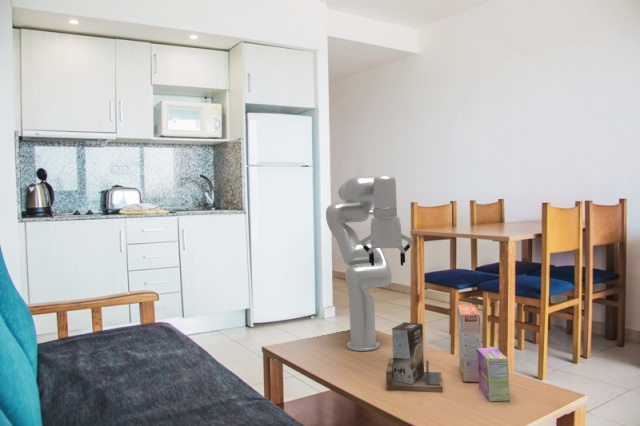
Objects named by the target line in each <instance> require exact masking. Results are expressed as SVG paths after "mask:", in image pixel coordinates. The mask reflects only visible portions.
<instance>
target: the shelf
mask: <svg viewBox="0 0 640 426" xmlns="http://www.w3.org/2000/svg"><path fill="white" fill-rule="evenodd" d="M385 377H386V381H385V382H386V391H398V392H426V393H427V392H428V393H430V392H431V393H443V392H444V391H443V377H442V372H440V371H439V380H440V386H433V385H426V371H424V376H422V377H421V378H420V379H419V380H417V381H416V382H415V383H414V384H407V383H402V382H396V381H394V370H393V358H388V362H387V366H386V371H385Z"/></svg>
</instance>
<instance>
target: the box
mask: <svg viewBox="0 0 640 426" xmlns="http://www.w3.org/2000/svg"><path fill="white" fill-rule="evenodd" d="M477 358H478V376H479V382H478V388H479V389H480V391H481V392H482V393H483V395H484V396H485V397H486V398H487V400H488V401H489V402H508V401H510V377H509V375H510V374H509V373H510V372H509V371H510V370H509V369H510V368H509V358H508V357H507V356H506V355H504V354H503V352H501V351H500V350H499V349H498V348H497V347H481V348H477Z"/></svg>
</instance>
